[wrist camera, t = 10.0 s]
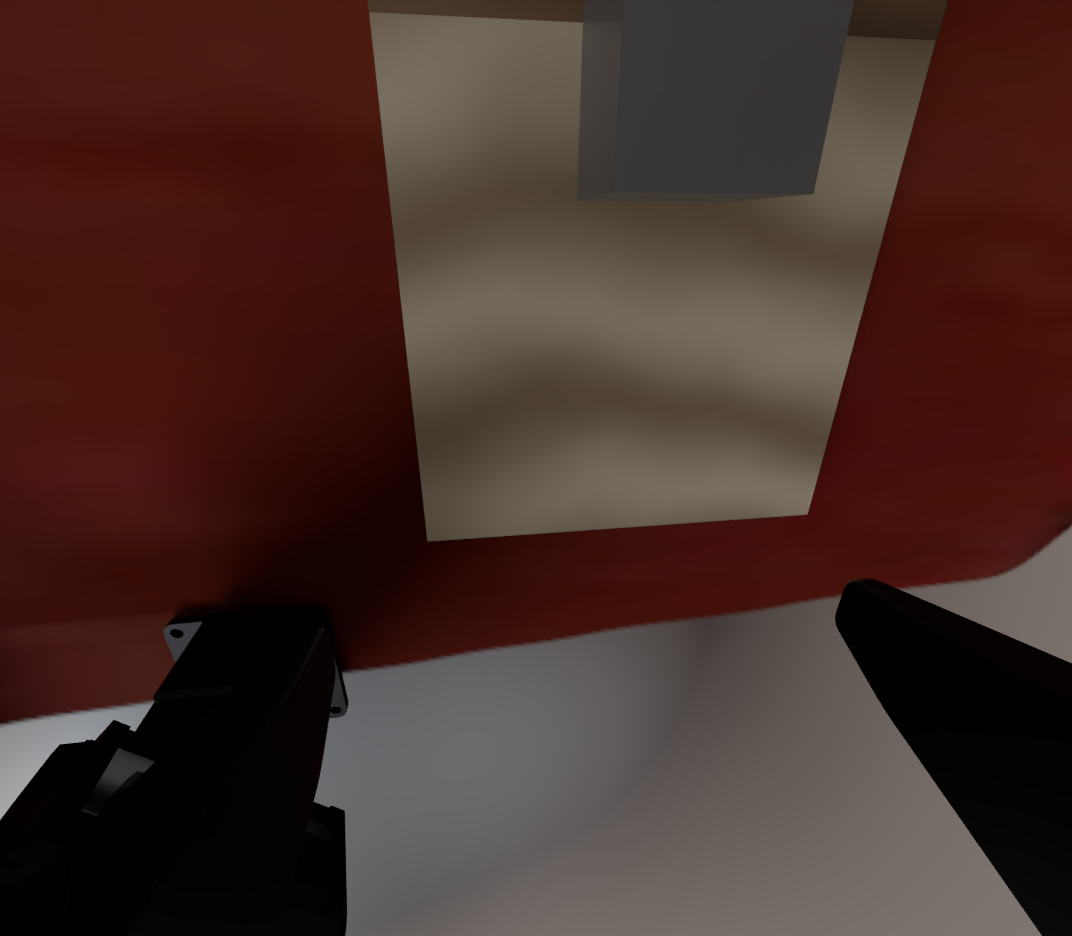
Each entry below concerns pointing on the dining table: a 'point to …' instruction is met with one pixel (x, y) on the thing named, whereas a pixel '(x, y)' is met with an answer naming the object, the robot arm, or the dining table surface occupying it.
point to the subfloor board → (618, 282)
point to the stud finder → (706, 97)
